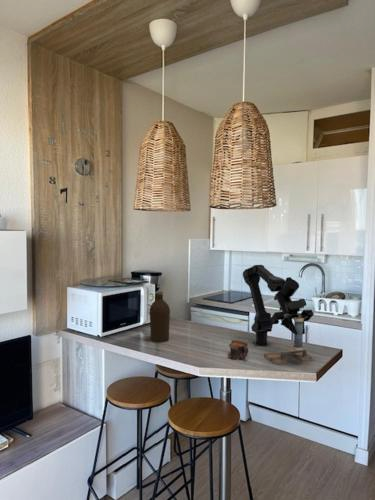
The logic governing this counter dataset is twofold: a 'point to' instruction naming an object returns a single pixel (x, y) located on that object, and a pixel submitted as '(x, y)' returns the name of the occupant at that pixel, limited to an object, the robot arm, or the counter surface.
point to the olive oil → (159, 319)
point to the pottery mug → (238, 350)
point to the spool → (298, 333)
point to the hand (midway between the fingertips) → (300, 334)
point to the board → (280, 356)
